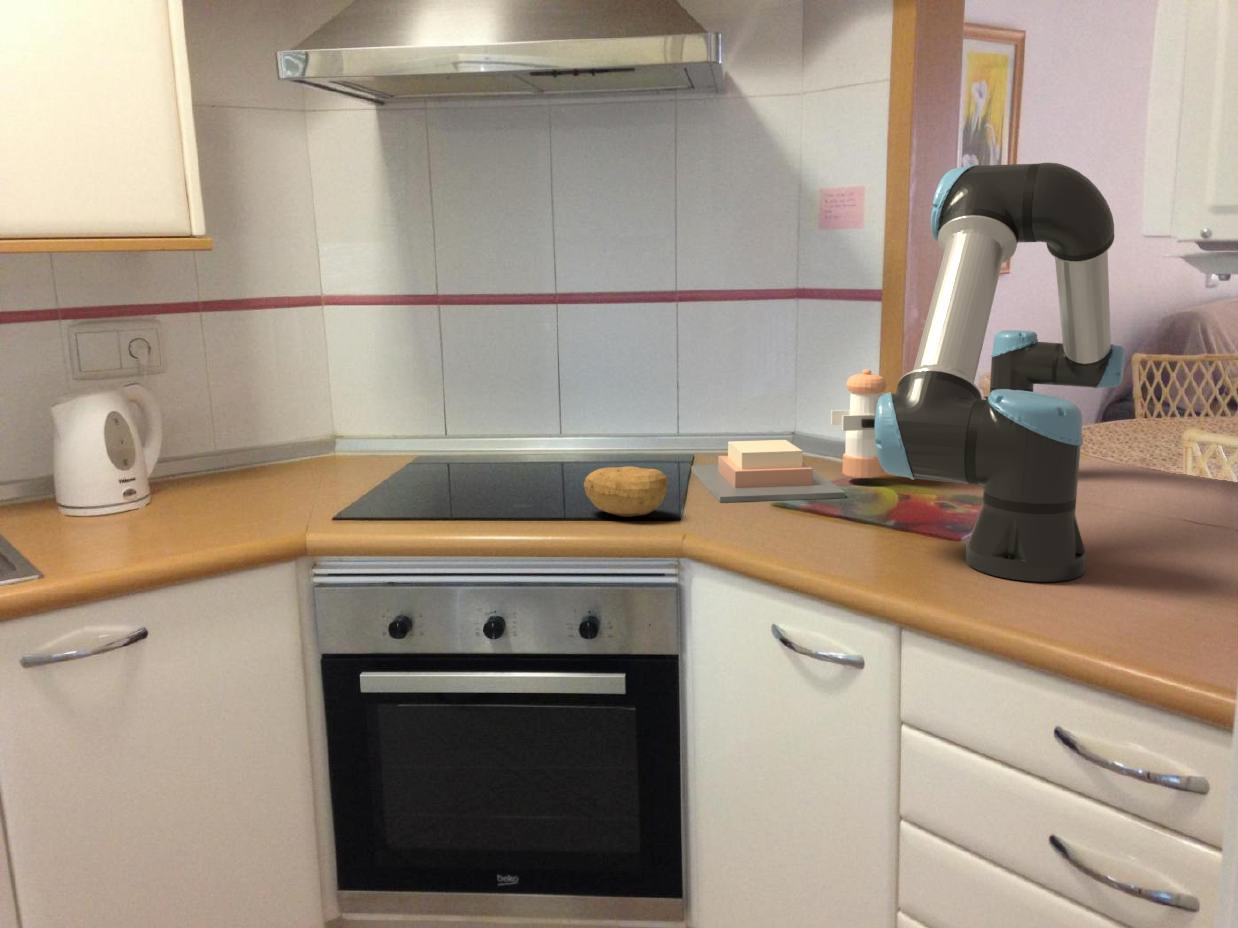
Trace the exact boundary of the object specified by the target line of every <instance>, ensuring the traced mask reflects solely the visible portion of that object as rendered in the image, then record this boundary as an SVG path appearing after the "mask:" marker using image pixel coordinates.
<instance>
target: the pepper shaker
mask: <svg viewBox="0 0 1238 928" xmlns="http://www.w3.org/2000/svg"><path fill="white" fill-rule="evenodd" d="M861 372H862V373H856V374H852V375H851V376H849V378H848V379H847V381H846V384H845V385H846V388H847V390H848V391H849V392H850V394H849V395H850V399H849V400H850V401H849V410H850V415H872V414H875V413H876V406H877V402H878V399H879V398H880V397H881V395H882V393H883V392H885V390H886V388H887V383H886V380H885V379H884V377H883V376H881V375H879V374H876V373H872V370H871V369H868V368H867V369H866V368H865V369H863V370H862V371H861ZM844 449H845V450H844V451H845V452H844V453H843V454H842V474H843V475H845V476H847V477H853V478H868V479H869V478H879V477H882V476H883V475H884V470H883V468H882V467H881V465H880V463H879V460H878V456H877V451H876V444H875V430H856V431H845V448H844Z"/></svg>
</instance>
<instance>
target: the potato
mask: <svg viewBox="0 0 1238 928" xmlns="http://www.w3.org/2000/svg"><path fill="white" fill-rule="evenodd" d="M668 486H669V481H668V478H667V475H666V474H664V473H663V471H661V470H658V469H655V468H645V467H644V468H643V467H638V466H637V467H636V466H634V465H633V466H631V465H629V466H619V467H603V468H598V469H596V470H593V471H591V472H590V473H589V474H588V475H587V476H586V477H585V480H584V481H583V488H584V492H585V495H586V496H587V498H588V500H590V501H591V503H592V504H593V505H594V507H595V508H597V509H598V510H600V511H602V512H605V513H607V514H611V515H613V516H618V517H621V518H622V517H623V518H632V517H633V518H634V517H638V516H645V515H648V514H650V513H652V512H654V511H655V510H656V509H657V508H659V507H660V506H661V505H662V503H663V501H664V499H665V497H666V495H667V493H668Z"/></svg>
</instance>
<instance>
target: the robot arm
mask: <svg viewBox="0 0 1238 928" xmlns="http://www.w3.org/2000/svg"><path fill="white" fill-rule="evenodd" d="M930 228H931V234H932V236H933V239H934V240H935V241H936V242H937V243H938V247H939V249H940V251H941V252H943V253H942V254H943V256H942V260H941V262H940V263H941V264H940V268H939V271H938V274H937V278H936V281H935V286H934V290H933V294H932V298H931V301H930V304H929V309H928V313H927V316H926V319H925V320H926V321H925V324H924V328H923V332H922V335H921V339H920V343H919V347H918V350H917V355H916V358H915V361H914V365H913V369H912V370H911V371H908V372H907V373H905V374H904V375H903V376H901V378H900V379H899V381H898V384H897V388H896V390H895V393H893V392H890V391H888V392H886V393H881V397H880V398H879V399H878V402H877V406H876V413H875V414H872V415H850V409H831V410H830V425H831V426H841V431H843V432H846V431H856V430H875V444H876V451H877V456H878V460H879V463H880V465H881V467H882V468H883V472H885V473H887V474H888V475H891V476H896V477H902V478H909V479H911V480H915V479H916V480H925V481H936V482H947V483H954V484H965V485H974V486H977V485H978V486H980V487H981V486H982V487H983V488H982V489H983V494H982V504H981V509H980V511H979V514H978V517H977V519H976V521H975V523H974V526H973V528H972V530H971V533H970V535H969V538H968V540H967V542H966V548H965V562H966V564H967V565H968V566H970V567H971V568H973V569H975V570H977V571H979V572H980V573H984V574H988V575H991V576H994V577H999V578H1003V579H1009V580H1016V581H1023V582H1024V581H1025V582H1039V583H1040V582H1042V583H1045V582H1048V583H1049V582H1050V583H1051V582H1052V583H1053V582H1062V581H1069V580H1074V579H1077V578H1080V577H1081V576H1083V575H1084V574H1085V571H1086V561H1087V553H1086V550H1085V547H1084V546H1085V545H1084V542H1083V539H1082V535H1081V532H1080V531H1081V530H1080V527H1079V524H1078V521H1077V516H1076V515H1077V514H1076V511H1077V510H1076V509H1077V507H1076V506H1077V505H1076V504H1077V496H1078V484H1079V483H1078V481H1079V470H1080V459H1081V447H1082V445H1083V443H1084V442H1083V441H1084V438H1083V436H1082V435H1083V415H1082V412H1081V410H1080V408H1079V407H1078V406H1077V405H1076V404H1075V403H1073V402H1071V401H1069V400H1066V399H1064V398H1061V397H1057V396H1053V395H1051V394H1050V395H1049V394H1045V393H1040V392H1035V391H1034V387H1035V386H1034V385H1048V386H1049V385H1051V386H1062V387H1063V386H1064V387H1080V388H1090V389H1091V388H1093V389H1099V388H1100V389H1101V388H1110V389H1111V388H1117V387H1119V386H1121V384H1122V382H1123V378H1124V373H1125V365H1126V350H1125V348H1124V347H1123V346H1122V345H1117V344H1113V343H1112V341H1111V339H1112V338H1111V313H1110V312H1111V311H1110V310H1111V309H1110V308H1111V307H1110V283H1109V281H1110V280H1109V252H1108V251H1109V250H1110V249H1111V247H1112V246H1113V244H1114V241H1115V222H1114V217H1113V213H1112V210H1111V208H1110V206H1109V203H1108V201H1107V199H1105V197H1104V195H1103V194H1102V192H1101V191H1100V190H1099V189H1098V187H1097V186H1096V185H1095V184H1094V182H1092V181H1091V180H1090V179H1089V178H1088V177H1087V176H1085V175H1083V174H1082V173H1081V172H1080V171H1079V170H1076V169H1074V168H1072V167H1070V166H1067V165H1064V164H1063V163H1058V162H1039V163H1017V164H1015V163H1014V164H990V165H979V164H973V165H970V166H962V167H956V168H952V169H950V170H949V171H948V172H946V173H945V174H944V175H943V176H942V177H941V179H940V181H939V183H938V185H937V187H936V191H935V193H934V197H933V200H932V210H931V213H930ZM1019 243H1046V248H1047V251H1048V252H1049V254H1050V255H1051V256H1053V258H1054V261H1055V272H1056V273H1055V274H1056V284H1057V293H1058V304H1059V305H1058V306H1059V307H1058V308H1059V317H1060V318H1059V319H1060V326H1061V337H1062V342H1060V343H1059V342H1047V341H1046V342H1045V341H1039V340H1038V334H1037V333H1036V332H1035V331H1033V330H1032V331H1031V330H1016V329H1015V330H1014V329H1013V330H1012V329H1011V330H1000V331H998V332H997V333H996V334H995V335H994V337H993V345H992V352H991V355H990V358H991V363H990V364H991V365H990V367H991V368H990V379H989V380H990V382H989V383H990V384H989V385H990V386H989V395H988V396H987V395H986V396H985V395H984V396H983V395H982V393H981V390H980V389H979V387H978V386H977V385H976V384H975V380H976V376H977V370H978V367H979V363H980V359H981V354H982V351H983V345H984V341H985V339H986V338H985V336H986V333H987V329H988V324H989V320H990V317H991V313H992V307H993V304H994V299H995V296H996V295H995V294H996V291H997V285H998V281H999V277H1000V273H1001V269H1002V265H1003V264H1004V263H1006V262H1007V261H1009V260H1010V259H1011V258H1012V257H1013V256H1014V254H1015V253H1016V251H1017V247H1018V244H1019Z"/></svg>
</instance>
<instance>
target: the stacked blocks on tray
mask: <svg viewBox="0 0 1238 928" xmlns="http://www.w3.org/2000/svg"><path fill="white" fill-rule="evenodd" d="M717 459H718V460H717V464H704V465H703V464H701V465H700V464H699V465H691V472H692V473H693V474H694V475H695V477H696V478H697V479H698V480H699V481H700V482H701V483H702V484H703V485H704V486H705V487H706V488H707V490H708V491H709V492H710V493H711V494H712V496H714V497H715V499H716V500H717V501H718V502H719V503H722V504H723V503H744V502H770V501H771V502H772V501H773V502H774V501H796V500H800V501H801V500H820V499H822V500H824V499H826V500H827V499H845V498H846V492H845V491H844V490H843V489H841V488H840V487H838V486H837V485H835V484H834V483H833V482H831V481H830V480H829V479H827V478H826V477H824V476H822V475H821V474H819V473H818V472H817V471H816V470H814V468H812V467H811V466H809V464H807V463H805V462H804V461H803V450H802V449H800V448H799V447H797V446H796V445H794V444H793V443H791V442H790V441H789V440H787V439H768V440H767V439H763V440H738V441H737V440H735V441H727V455H718V457H717Z"/></svg>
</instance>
